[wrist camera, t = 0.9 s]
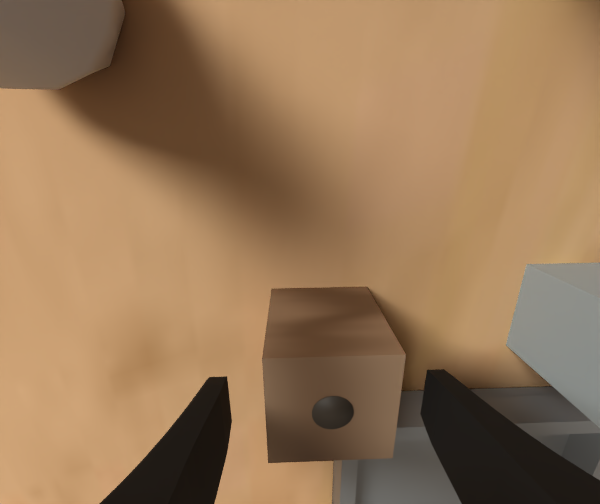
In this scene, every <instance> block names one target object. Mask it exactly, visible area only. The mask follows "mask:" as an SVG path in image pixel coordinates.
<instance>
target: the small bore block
mask: <svg viewBox="0 0 600 504" xmlns="http://www.w3.org/2000/svg"><path fill="white" fill-rule="evenodd" d="M405 359H406V354H405V352H404V350H403V349H402V347H401V345H400V343H399V342H398V340H397V338H396V336H395V335H394V333H393V331H392V329H391V328H390V326H389V324H388V323H387V321H386V319H385V317H384V316H383V314H382V312H381V310H380V309H379V307H378V305H377V303H376V302H375V300H374V298H373V296H372V295H371V293H370V291H369V290H368V288H367V287H333V288H285V289H272V290H271V298H270V305H269V313H268V320H267V327H266V335H265V342H264V349H263V357H262V363H263V380H264V397H265V414H266V431H267V448H268V463H280V462H306V461H333V460H360V459H386V458H393V451H394V444H395V436H396V428H397V421H398V413H399V405H400V397H401V390H402V382H403V374H404V366H405Z"/></svg>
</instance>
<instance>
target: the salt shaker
mask: <svg viewBox="0 0 600 504" xmlns="http://www.w3.org/2000/svg"><path fill="white" fill-rule="evenodd" d="M124 16H125V10H124V6H123V3H122V0H0V88H8V89H50V90H59V89H61V88H63V87H65V86H67V85H69V84H71V83H74V82H76V81H78V80H80V79H82V78H84V77H86V76H88V75H90V74H92V73H94V72H96V71H99V70H101V69H104V68H106V67H109V66H110V64H111V61H112V57H113V54H114V51H115V47H116V44H117V40H118V37H119V33H120V30H121V27H122V23H123V20H124Z"/></svg>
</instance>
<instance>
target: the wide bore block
mask: <svg viewBox="0 0 600 504" xmlns="http://www.w3.org/2000/svg"><path fill="white" fill-rule="evenodd" d="M506 346H507V347H509V348H510V349H511V350H512V351H513V352H514V353H515V354H516V355H518V356H519V357H520V358H521V359H522V360H523V361H524V362H526V363H527V364H528V365H529V366H530V367H531V368H532V369H533V370H535V371H536V372H537V373H538V374H539V375H540V376H541V377H542V378H544V379H545V380H546V381H547V382H548V383H549V384H550V385H552V386H553V387H554V388H555V389H556V390H557V391H558V392H559V393H561V394H562V395H563V396H564V397H565V398H566V399H567V400H568V401H570V402H571V403H572V404H573V405H574V406H575V407H576V408H577V409H579V410H580V411H581V412H582V413H583V414H584V415H585V416H587V417H588V418H589V419H590V420H591V421H592V422H593V423H594V424H596V425H597V426H598V427H599V428H600V263H560V264H527V265H526V269H525V273H524V277H523V280H522V284H521V288H520V292H519V296H518V300H517V304H516V308H515V312H514V316H513V320H512V323H511V327H510V331H509V335H508V339H507V343H506Z"/></svg>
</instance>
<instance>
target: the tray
mask: <svg viewBox="0 0 600 504" xmlns="http://www.w3.org/2000/svg"><path fill="white" fill-rule="evenodd" d="M470 390H471V391H472V392H474V393H475V394H476V395H477V396H479V397H480V398H481V399H482V400H484V401H485V402H486V403H488V404H489V405H490V406H491V407H493V408H494V409H495V410H497V411H498V412H499V413H501V414H502V415H503V416H505V417H506V418H507V419H509V420H510V421H511V422H513V423H514V424H515V425H517V426H518V427H520V428H521V429H522V430H524V431H525V432H527V433H528V434H529V435H531V436H532V437H534V438H535V439H537V440H538V441H539V442H541V443H542V444H544V445H545V446H547V447H548V448H550V449H551V450H553V451H554V452H556V453H557V454H559V455H560V456H562V457H563V458H565V459H567V460H568V461H570V462H571V463H573V464H574V465H576V466H578V467H579V468H581V469H582V470H584V471H585V472H587V473H589V474H590V475H592V476H594V477H595V478H597V479H599V480H600V428H599V427H598V426H597V425H596V424H594V423H593V422H592V421H591V420H590V419H589V418H588V417H587V416H585V415H584V414H583V413H582V412H581V411H580V410H579V409H577V408H576V407H575V406H574V405H573V404H572V403H571V402H570V401H568V400H567V399H566V398H565V397H564V396H563V395H562V394H561V393H559V392H558V391H557V390H556V389H555V388H554V387H553V386H552V387H520V388H488V389H470ZM423 394H424V391H401V397H400V405H399V413H398V421H397V428H396V436H395V444H394V451H393V458H386V459H360V460H334V467H333V492H332V504H462V503H461V502H460V500H459V498H458V496H457V494H456V492H455V490H454V488H453V486H452V484H451V482H450V480H449V478H448V476H447V474H446V472H445V470H444V468H443V466H442V464H441V462H440V460H439V458H438V456H437V454H436V452H435V450H434V448H433V446H432V444H431V441H430V439H429V436H428V434H427V431H426V428H425V426H424V423H423V420H422V417H421V415H420V412H421V406H422V400H423Z"/></svg>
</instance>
